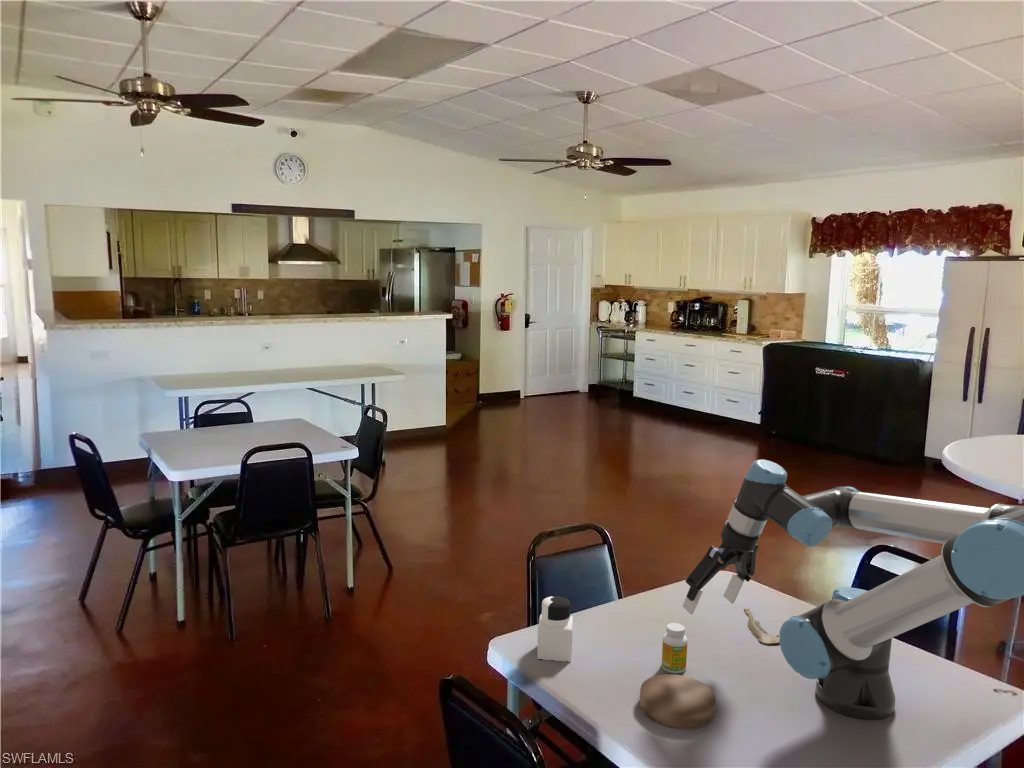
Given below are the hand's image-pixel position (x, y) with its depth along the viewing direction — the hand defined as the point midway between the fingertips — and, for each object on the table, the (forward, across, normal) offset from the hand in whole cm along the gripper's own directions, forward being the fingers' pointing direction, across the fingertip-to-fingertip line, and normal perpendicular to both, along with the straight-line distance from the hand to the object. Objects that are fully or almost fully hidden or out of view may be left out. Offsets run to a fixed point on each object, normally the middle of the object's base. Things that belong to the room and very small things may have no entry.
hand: (708, 604), depth 172 cm
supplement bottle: (+14, +7, +3) cm, 16 cm away
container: (+22, +25, -16) cm, 37 cm away
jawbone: (+13, -28, +2) cm, 31 cm away
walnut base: (+11, +18, +14) cm, 25 cm away
